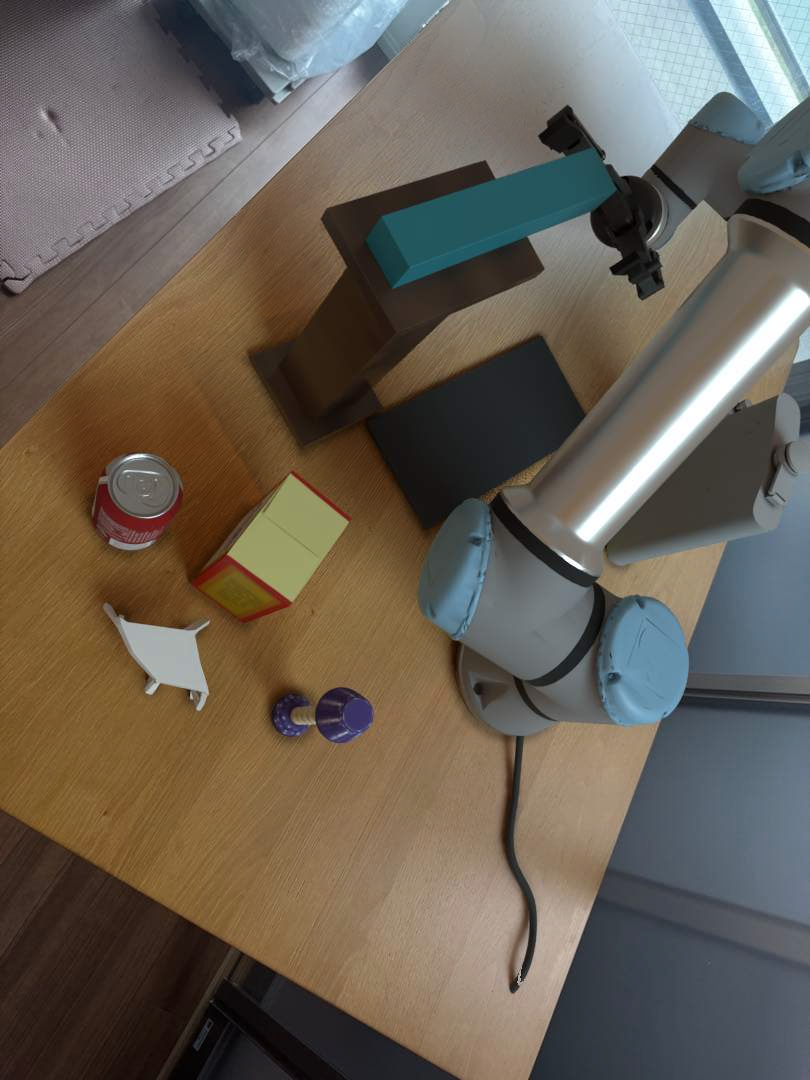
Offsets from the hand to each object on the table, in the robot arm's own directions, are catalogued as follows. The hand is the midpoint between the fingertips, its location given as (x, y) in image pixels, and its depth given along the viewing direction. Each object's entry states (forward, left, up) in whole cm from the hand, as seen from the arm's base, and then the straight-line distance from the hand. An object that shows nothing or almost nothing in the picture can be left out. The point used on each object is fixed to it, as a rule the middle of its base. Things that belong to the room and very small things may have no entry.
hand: (588, 196), depth 66 cm
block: (-12, +8, +2) cm, 14 cm away
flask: (-6, -34, -28) cm, 45 cm away
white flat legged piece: (-49, +13, -28) cm, 58 cm away
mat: (-8, -10, -28) cm, 31 cm away
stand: (-16, +11, -28) cm, 34 cm away
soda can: (-39, +21, -28) cm, 52 cm away
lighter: (+11, -42, -28) cm, 52 cm away
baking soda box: (-38, +9, -28) cm, 48 cm away
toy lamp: (-49, -2, -28) cm, 57 cm away
